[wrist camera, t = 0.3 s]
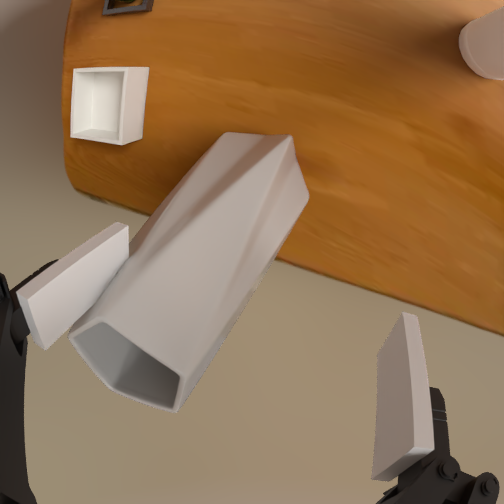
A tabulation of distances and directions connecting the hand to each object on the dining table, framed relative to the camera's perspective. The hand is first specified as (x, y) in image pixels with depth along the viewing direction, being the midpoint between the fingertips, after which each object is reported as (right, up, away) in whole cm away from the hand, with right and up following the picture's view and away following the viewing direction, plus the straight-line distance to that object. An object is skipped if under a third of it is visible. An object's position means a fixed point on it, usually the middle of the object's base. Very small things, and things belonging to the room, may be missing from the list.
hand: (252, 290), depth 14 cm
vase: (+2, +13, +26) cm, 30 cm away
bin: (-21, +25, +28) cm, 43 cm away
